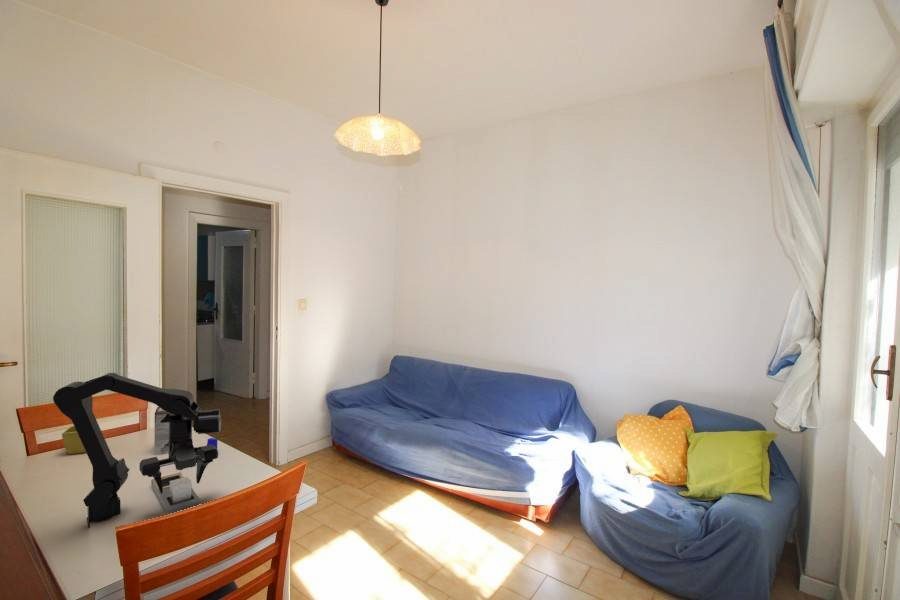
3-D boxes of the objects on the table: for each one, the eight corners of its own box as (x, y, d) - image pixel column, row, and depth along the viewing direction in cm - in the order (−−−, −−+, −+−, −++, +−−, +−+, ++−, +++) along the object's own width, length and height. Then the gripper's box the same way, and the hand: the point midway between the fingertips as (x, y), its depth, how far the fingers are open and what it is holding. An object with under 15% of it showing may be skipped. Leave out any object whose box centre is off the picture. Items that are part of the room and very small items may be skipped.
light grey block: (173, 510, 120) (173, 486, 120) (169, 504, 123) (169, 481, 123) (191, 505, 123) (191, 481, 123) (187, 499, 126) (187, 476, 126)
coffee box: (157, 446, 168) (157, 406, 167) (176, 444, 171) (176, 404, 170) (153, 454, 160) (153, 413, 159) (173, 452, 163) (174, 411, 162)
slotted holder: (168, 520, 117) (168, 509, 117) (151, 488, 134) (151, 479, 134) (200, 510, 123) (200, 499, 122) (180, 481, 140) (180, 472, 140)
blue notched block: (207, 452, 164) (207, 437, 163) (217, 453, 163) (217, 438, 163) (182, 465, 152) (182, 449, 152) (193, 466, 151) (193, 450, 151)
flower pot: (70, 448, 163) (70, 425, 163) (99, 445, 167) (99, 423, 167) (61, 457, 155) (61, 433, 155) (91, 453, 159) (91, 430, 159)
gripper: (146, 451, 110) (146, 510, 111) (224, 435, 123) (223, 487, 124) (139, 439, 118) (138, 494, 119) (212, 425, 131) (212, 475, 132)
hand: (180, 487), depth 123 cm, fingers open, 9 cm apart
